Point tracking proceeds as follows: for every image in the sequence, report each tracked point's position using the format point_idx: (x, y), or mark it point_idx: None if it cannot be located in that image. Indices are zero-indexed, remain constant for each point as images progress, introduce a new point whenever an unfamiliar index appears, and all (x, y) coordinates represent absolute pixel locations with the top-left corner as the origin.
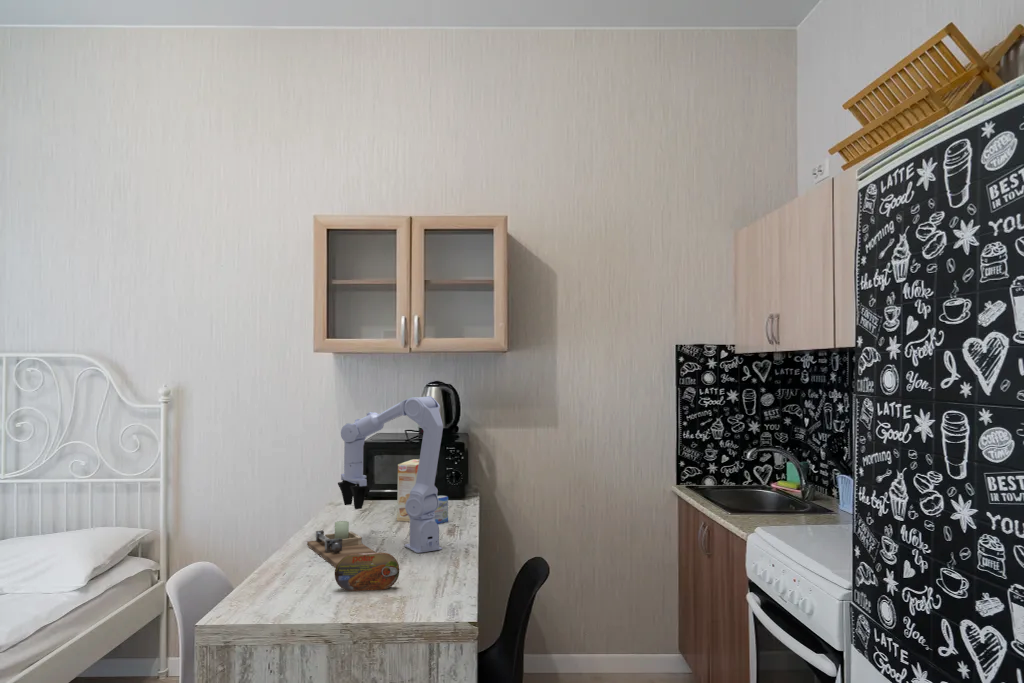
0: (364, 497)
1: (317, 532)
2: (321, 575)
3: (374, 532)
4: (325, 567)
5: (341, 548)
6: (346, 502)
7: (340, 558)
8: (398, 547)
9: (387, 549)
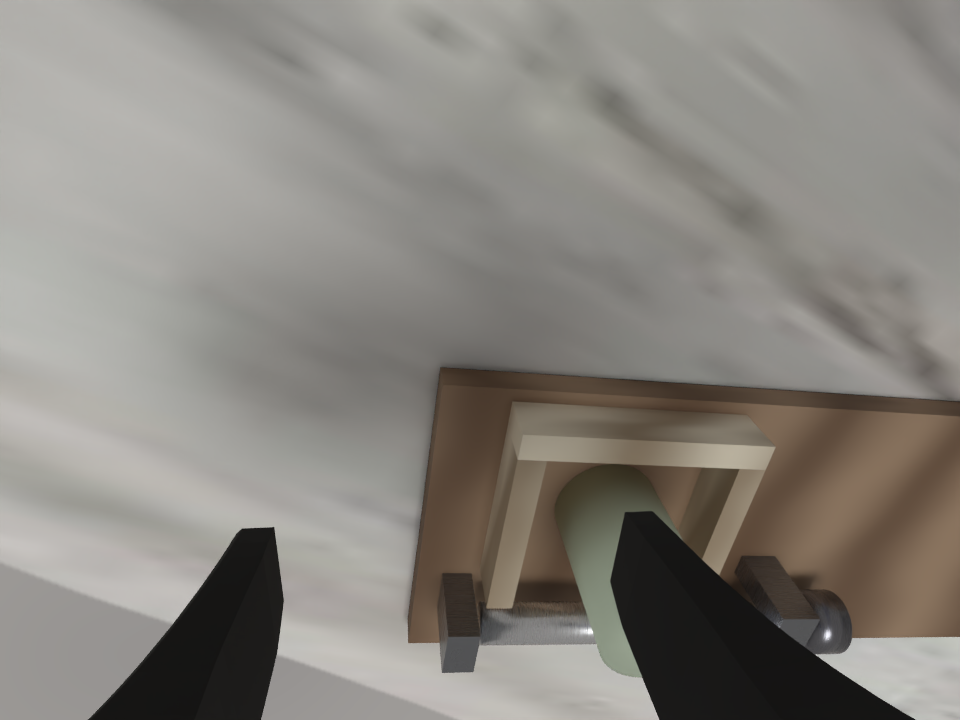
0: (777, 631)
1: (472, 665)
2: (945, 678)
3: (266, 22)
4: (869, 644)
5: (835, 597)
6: (277, 622)
7: (892, 602)
8: (941, 152)
9: (904, 258)
